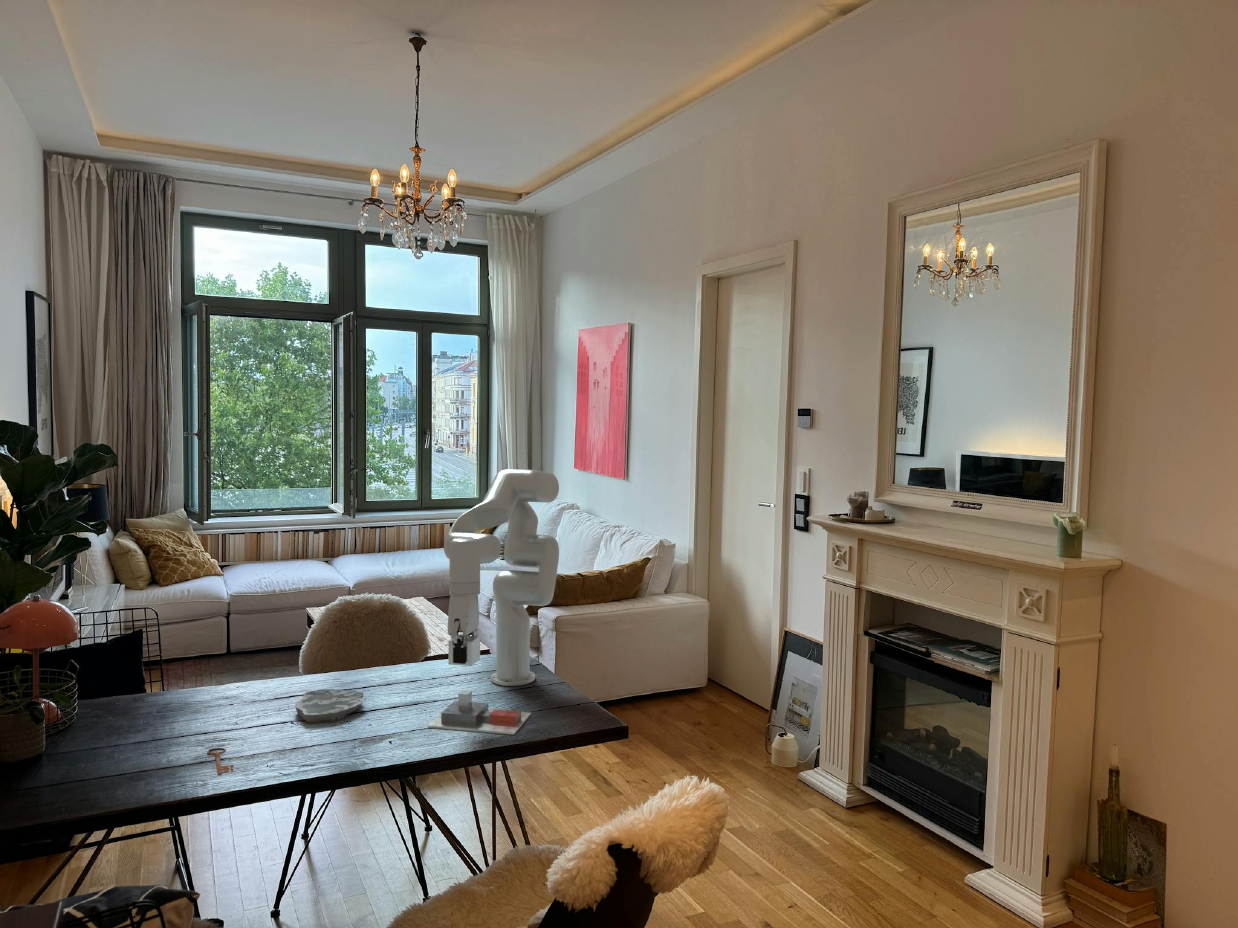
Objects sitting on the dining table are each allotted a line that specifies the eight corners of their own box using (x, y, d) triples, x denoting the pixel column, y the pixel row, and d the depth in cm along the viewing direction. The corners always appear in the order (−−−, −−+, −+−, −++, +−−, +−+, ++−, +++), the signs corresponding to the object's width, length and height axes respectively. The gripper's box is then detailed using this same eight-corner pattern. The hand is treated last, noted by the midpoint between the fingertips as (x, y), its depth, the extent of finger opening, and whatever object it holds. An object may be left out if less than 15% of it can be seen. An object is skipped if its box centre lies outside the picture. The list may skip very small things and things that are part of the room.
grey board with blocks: (449, 707, 226) (449, 681, 226) (530, 714, 222) (530, 687, 222) (427, 727, 212) (427, 699, 212) (514, 734, 208) (514, 706, 208)
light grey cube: (457, 657, 220) (457, 634, 220) (480, 659, 219) (480, 635, 219) (448, 664, 214) (448, 640, 214) (471, 665, 213) (471, 641, 213)
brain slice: (368, 720, 218) (368, 708, 217) (296, 729, 211) (296, 717, 211) (361, 695, 236) (361, 685, 236) (294, 703, 230) (294, 692, 229)
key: (239, 774, 186) (234, 749, 200) (239, 770, 186) (234, 745, 200) (209, 777, 184) (206, 751, 197) (209, 773, 184) (207, 747, 197)
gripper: (462, 580, 225) (462, 649, 226) (436, 593, 208) (436, 668, 209) (490, 582, 223) (490, 651, 224) (466, 595, 206) (466, 670, 207)
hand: (464, 658), depth 217 cm, fingers closed on light grey cube, 6 cm apart
